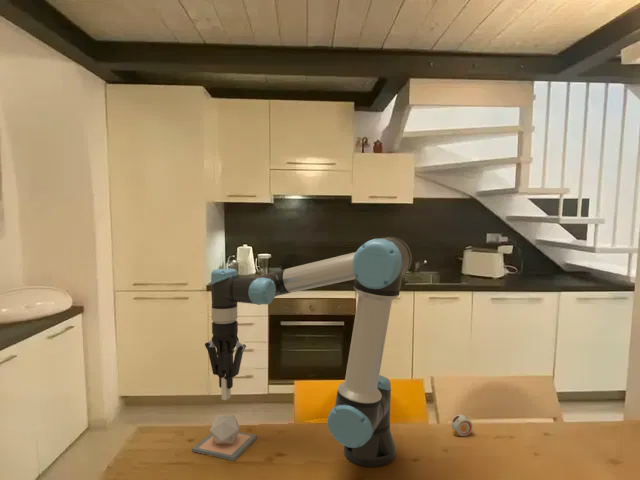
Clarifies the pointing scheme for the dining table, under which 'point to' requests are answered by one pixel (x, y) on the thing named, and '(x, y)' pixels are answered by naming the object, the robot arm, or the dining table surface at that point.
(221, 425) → the die
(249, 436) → the base plate
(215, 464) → the dining table surface
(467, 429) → the roller toy
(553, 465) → the dining table surface
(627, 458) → the dining table surface
